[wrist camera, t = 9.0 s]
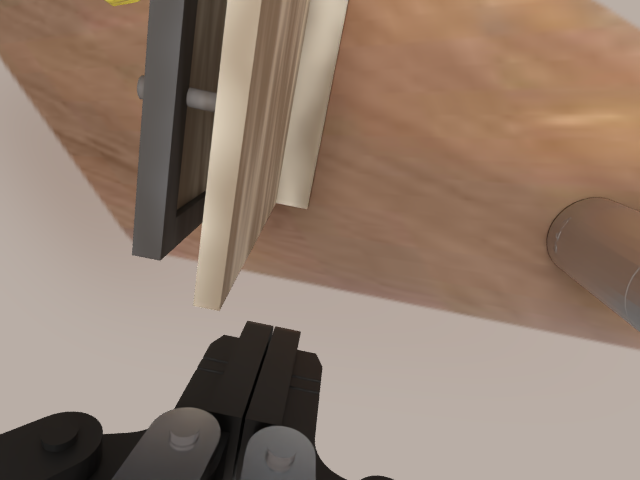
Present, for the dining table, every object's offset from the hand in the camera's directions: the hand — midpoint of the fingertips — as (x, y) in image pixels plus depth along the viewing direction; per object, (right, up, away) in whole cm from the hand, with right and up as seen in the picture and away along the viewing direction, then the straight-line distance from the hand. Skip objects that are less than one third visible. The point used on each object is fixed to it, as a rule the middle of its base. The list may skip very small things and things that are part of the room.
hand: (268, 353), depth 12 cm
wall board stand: (-4, +18, +33) cm, 38 cm away
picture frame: (-6, +15, +23) cm, 28 cm away
